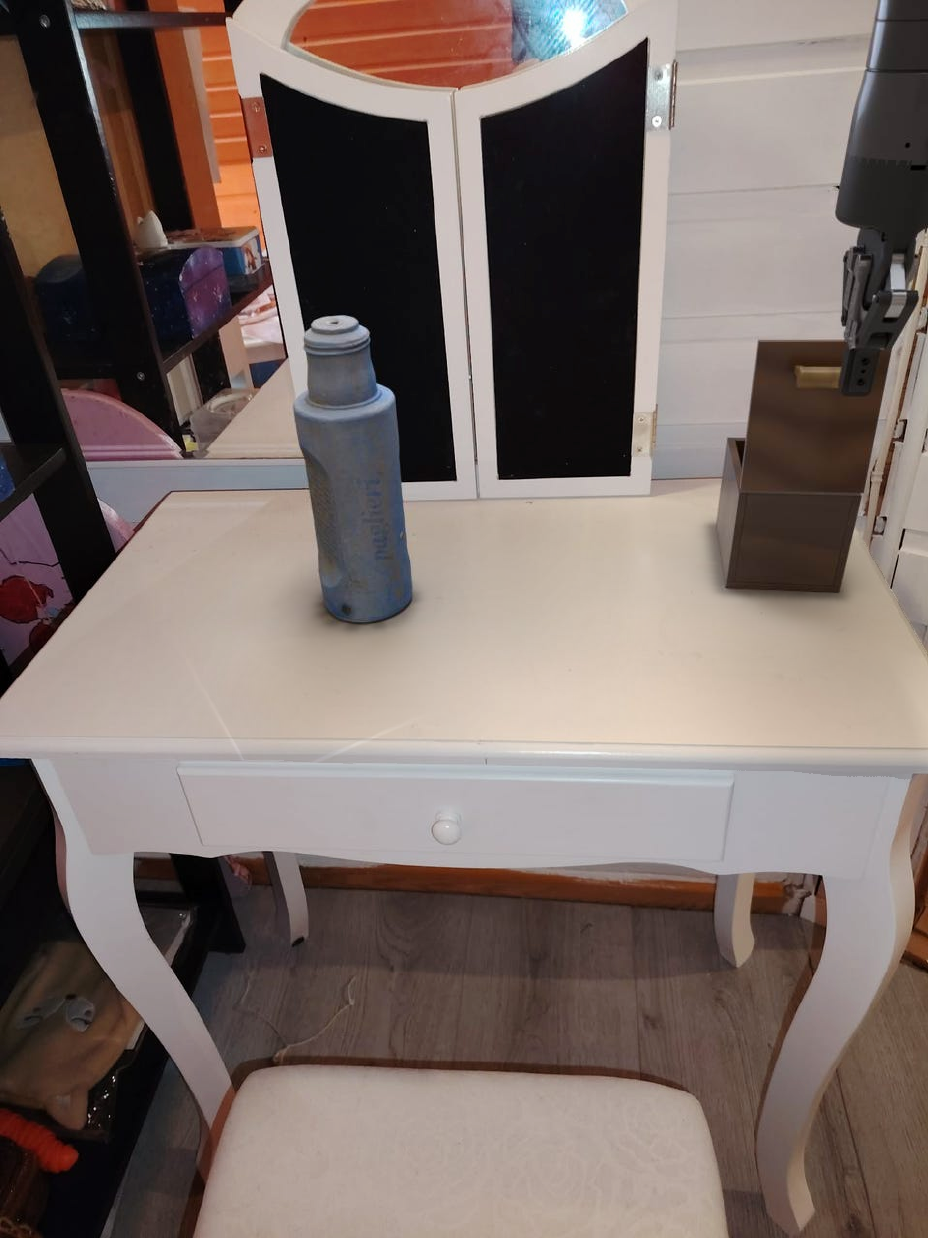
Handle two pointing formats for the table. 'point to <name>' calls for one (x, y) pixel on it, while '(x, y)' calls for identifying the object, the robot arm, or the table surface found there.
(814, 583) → the chest
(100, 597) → the table surface
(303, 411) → the bottle
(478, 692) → the table surface
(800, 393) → the lid
